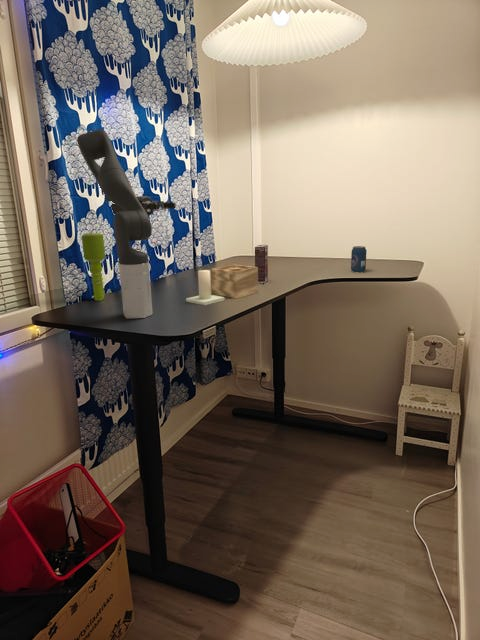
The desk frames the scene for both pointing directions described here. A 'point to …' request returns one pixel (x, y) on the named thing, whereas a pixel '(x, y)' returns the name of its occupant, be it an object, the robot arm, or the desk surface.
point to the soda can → (358, 259)
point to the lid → (204, 290)
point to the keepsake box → (234, 280)
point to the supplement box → (262, 262)
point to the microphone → (95, 260)
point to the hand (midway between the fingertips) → (165, 205)
